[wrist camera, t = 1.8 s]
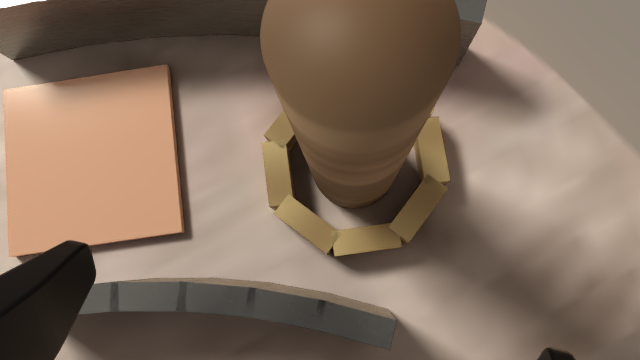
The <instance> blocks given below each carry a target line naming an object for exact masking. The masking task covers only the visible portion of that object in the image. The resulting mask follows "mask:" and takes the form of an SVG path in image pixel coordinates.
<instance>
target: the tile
mask: <svg viewBox="0 0 640 360" xmlns="http://www.w3.org/2000/svg"><path fill="white" fill-rule="evenodd" d="M3 93H4V122H5V152H6V182H7V211H8V241H9V257H17V256H24V255H31V254H38V253H43V252H45V251H47V250H49V249H51V248H53V247H55V246H57V245H58V244H60V243H62V242H64V241H67V240H74V241H78V242H83V243H86V244H88V245H89V246H94V245H101V244H108V243H115V242H122V241H129V240H136V239H143V238H150V237H157V236H164V235H171V234H178V233H184V232H185V229H184V218H183V207H182V196H181V186H180V175H179V164H178V153H177V142H176V131H175V121H174V110H173V99H172V88H171V77H170V67H169V66H168V65H167V64H165V65H158V66H152V67H146V68H139V69H133V70H126V71H120V72H113V73H107V74H101V75H94V76H88V77H81V78H75V79H69V80H62V81H56V82H49V83H43V84H37V85H30V86H24V87H17V88H11V89H5V90H3Z"/></svg>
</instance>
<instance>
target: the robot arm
mask: <svg viewBox="0 0 640 360" xmlns="http://www.w3.org/2000/svg"><path fill="white" fill-rule="evenodd" d="M95 278H96V268H95V264H94V260H93V256H92V251H91V248H90V246H89V245H88V244H86V243H83V242H78V241H74V240H67V241H64V242H62V243H60V244H58V245H57V246H55V247H53V248H51V249H49V250H47V251H45V252H43V253H41V254H39V255H38V256H36V257H34V258H32V259H30V260H28V261H26V262H24V263H22V264H20V265H19V266H17V267H15V268H13V269H11V270H9V271H7V272H5V273H3V274H1V275H0V360H54V359H55V358H56V356H57V354H58V353H59V351H60V349H61V347H62V345H63V344H64V342H65V340H66V338H67V336H68V334H69V332H70V330H71V328H72V326H73V324H74V322H75V320H76V318H77V316H78V314H79V312H80V310H81V308H82V306H83V304H84V302H85V300H86V298H87V296H88V294H89V292H90V290H91V288H92V286H93V284H94V281H95ZM538 360H576V359H575V358H574V357H573V355H572V354H571V353H569V352H567V351H564V350H560V349H555V348H551V347H548V348H546V349H544V350H543V352H542V353H541V355H540V356H539V358H538Z"/></svg>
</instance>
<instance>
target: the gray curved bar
mask: <svg viewBox="0 0 640 360" xmlns="http://www.w3.org/2000/svg"><path fill="white" fill-rule="evenodd" d="M267 1H268V0H0V53H1V54H3V55H5V56H6V57H8V58H10V59H11V60H15V59H20V58H25V57H30V56H35V55H40V54H45V53H50V52H55V51H60V50H65V49H70V48H75V47H80V46H85V45H92V44H100V43H109V42H118V41H126V40H135V39H143V38H152V37H166V36H197V35H227V34H232V35H252V36H260V31H261V22H262V17H263V13H264V9H265V7H266V4H267ZM486 2H487V0H455V3H456V5H457V9H458V12H459V16H460V23H461V45H460V51H459V56H458V59H457V62H456V65H459V64H460V62H461V60H462V58H463V56H464V55H465V53H466V51H467V49H468V47H469V45H470V44H471V42H472V40H473V38H474V36H475V35H476V33H477V31H478V29H479V27H480V26H481V24H482V19H483V15H484V11H485V6H486ZM113 311H185V312H196V313H206V314H217V315H228V316H239V317H250V318H255V319H261V320H266V321H271V322H277V323H282V324H288V325H293V326H299V327H304V328H309V329H315V330H319V331H322V332H326V333H330V334H333V335H337V336H340V337H344V338H348V339H351V340H355V341H358V342H362V343H366V344H369V345H373V346H376V347H380V348H383V349H387V350H390V348H391V343H392V339H393V335H394V330H395V326H396V322H397V320H396V319H395V317H394V316H393V315H392V314H391V312H390V311H389V310H388V309H385V308H382V307H378V306H374V305H371V304H367V303H363V302H359V301H356V300H352V299H348V298H345V297H341V296H337V295H334V294H331V293H326V292H320V291H314V290H309V289H303V288H297V287H292V286H286V285H280V284H275V283H269V282H256V281H244V280H232V279H221V278H153V279H141V280H129V281H117V282H109V283H99V284H93V286H92V288H91V290H90V292H89V294H88V296H87V298H86V300H85V302H84V304H83V306H82V308H81V310H80V312H79V314H78V315H80V314H91V313H102V312H113Z"/></svg>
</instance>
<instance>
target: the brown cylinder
mask: <svg viewBox="0 0 640 360" xmlns="http://www.w3.org/2000/svg"><path fill="white" fill-rule="evenodd" d="M260 42H261V51H262V56H263V61H264V64H265V66H266V69H267V72H268V74H269V77H270V79H271V81H272V84H273V86H274V88H275V90H276V93H277V95H278V97H279V100H280V102H281V104H282V106H283V109H284V110H283V111H282V113H281V114H280V115H279V117H278V118H277V119H276V120H275V122H274V123H273V124H272V125H271V127H270V128H269V129H268V131H267V132H266V133H265V134H264V136H265V138H266V139H267V141H268V142H264V143H262V150H263V158H264V167H265V175H266V183H267V191H268V200H269V207H271V208H272V209H274V210H275V209H277V210H276V211H275V212H274V214H275V215H276V216H277V217H278V218H280V219H281V220H282V221H284V222H285V223H286V224H288V225H289V226H290V227H292V228H293V229H294V230H296V231H297V232H298V233H299V234H301V235H302V236H303V237H305V238H306V239H307V240H309V241H310V242H311V243H313V244H314V245H315V246H316V247H318V248H319V249H320V250H322V251H323V252H324V253H326V254H328V253H329V252H330V251H331V249H332V248H333V249H334V256H335V257H336V256H343V255H350V254H358V253H365V252H372V251H379V250H386V249H393V248H400V247H402V245H401V240H402V241H403V242H404V243H409V242H410V240H411V239H412V238H413V236H414V235H415V234H416V232H417V231H418V229H419V228H420V227H421V225H422V224H423V223H424V221H425V220H426V218H427V217H428V216H429V214H430V213H431V212H432V210H433V209H434V208H435V206H436V205H437V203H438V202H439V201H440V199H441V198H442V197H443V195H444V194H445V192H446V191H447V190H448V188H447V187H446V186H444V185H445V184H447V183H448V182H449V181H450V176H449V171H448V165H447V160H446V154H445V149H444V144H443V138H442V133H441V127H440V122H439V116H438V117H431V118H430V116H431V114H432V113H433V111H434V109H433V108H434V106H435V104H436V102H437V101H438V99H439V97H440V95H441V93H442V91H443V89H444V88H445V86H446V84H447V82H448V80H449V78H450V76H451V74H452V72H453V70H454V68H455V65H456V62H457V59H458V56H459V51H460V45H461V23H460V16H459V12H458V9H457V5H456V3H455V0H268V1H267V4H266V7H265V9H264V13H263V17H262V22H261V31H260ZM297 141H298V143H299V145H300V148H301V150H302V152H303V155H304V157H305V159H306V161H307V164H308V166H309V168H310V171H311V173H312V175H313V178H314V180H315V182H316V184H317V186H318V188H319V190H320V191H321V192H322V194H323V195H324V196H325V197H326V198H328V199H329V200H330V201H332V202H333V203H335V204H337V205H340V206H343V207H347V208H361V207H366V206H369V205H371V204H373V203H375V202H377V201H378V200H380V199H381V198H382V197H383V196H384V195H385V194H386V193H387V192H388V190H389V189H390V187H391V186H392V184H393V182H394V180H395V178H396V176H397V175H398V173H399V171H400V169H401V167H402V165H403V163H404V162H405V160H406V158H407V156H408V154H409V152H410V150H411V149H412V147H413V145H414V148H415V154H416V160H417V166H418V171H419V177H420V184H419V186H418V187H417V188H416V190H415V191H414V192H413V194H412V195H411V196H410V198H409V199H408V201H407V202H406V203H405V205H404V206H403V207H402V209H401V210H400V211H399V213H398V214H397V215H396V217H395V218H394V220H393V221H392V222H391V223H386V224H379V225H372V226H365V227H358V228H351V229H344V230H335V229H334V228H333V227H331V226H330V225H329V224H327V223H326V222H325V221H323V220H322V219H321V218H319V217H318V216H317V215H315V214H314V213H313V212H311V211H310V210H309V209H308V208H306V207H305V206H304V205H302V204H301V203H300V202H298V201H297V200H296V198H295V190H294V182H293V175H292V167H291V159H290V152H289V151H290V150H291V148H292V147H293V146H294V144H295V143H296V142H297Z"/></svg>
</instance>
